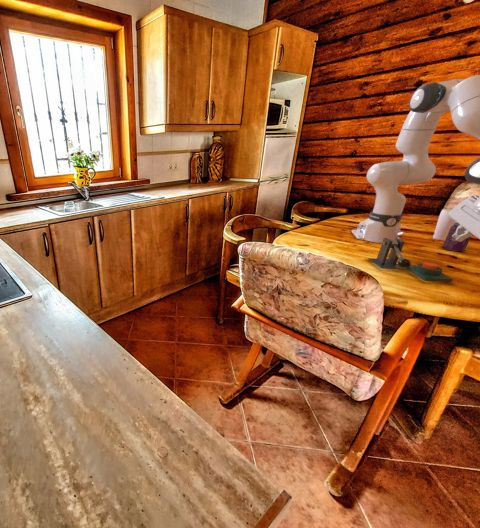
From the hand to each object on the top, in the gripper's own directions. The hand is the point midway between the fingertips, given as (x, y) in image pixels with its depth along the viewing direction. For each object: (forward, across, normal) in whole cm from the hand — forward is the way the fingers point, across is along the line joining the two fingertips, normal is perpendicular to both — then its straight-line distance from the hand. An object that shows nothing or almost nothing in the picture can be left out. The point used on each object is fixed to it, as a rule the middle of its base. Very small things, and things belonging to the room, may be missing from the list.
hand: (456, 239), depth 100 cm
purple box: (+15, -31, +28) cm, 45 cm away
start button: (+12, +2, 0) cm, 13 cm away
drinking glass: (+18, -46, +32) cm, 59 cm away
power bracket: (+20, -5, -8) cm, 22 cm away
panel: (+16, +3, +1) cm, 16 cm away
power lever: (+13, -2, -10) cm, 17 cm away
